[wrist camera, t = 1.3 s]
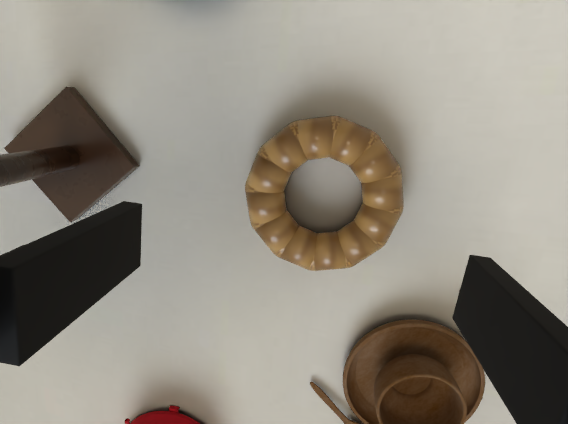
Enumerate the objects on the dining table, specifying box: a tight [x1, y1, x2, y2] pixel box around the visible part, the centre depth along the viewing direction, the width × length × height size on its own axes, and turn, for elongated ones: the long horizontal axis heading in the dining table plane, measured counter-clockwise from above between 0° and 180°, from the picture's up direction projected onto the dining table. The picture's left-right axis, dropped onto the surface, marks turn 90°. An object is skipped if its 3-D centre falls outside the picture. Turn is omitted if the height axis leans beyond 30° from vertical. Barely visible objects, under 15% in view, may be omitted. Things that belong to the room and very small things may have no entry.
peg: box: [0, 87, 139, 222], centre depth 26 cm, size 8×8×13 cm
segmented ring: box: [245, 116, 403, 271], centre depth 30 cm, size 12×12×3 cm
